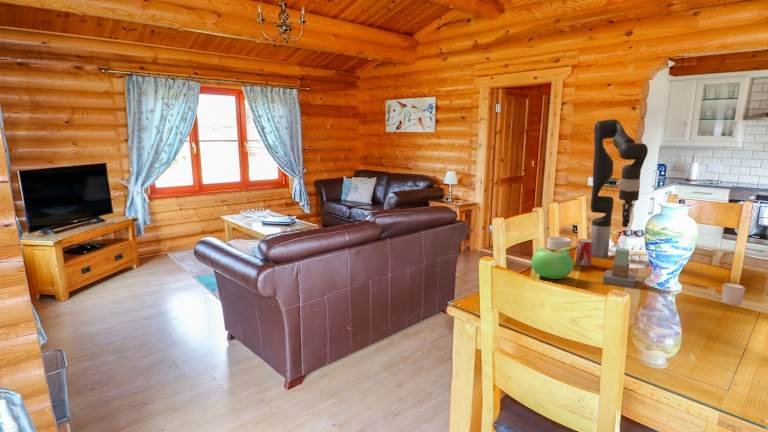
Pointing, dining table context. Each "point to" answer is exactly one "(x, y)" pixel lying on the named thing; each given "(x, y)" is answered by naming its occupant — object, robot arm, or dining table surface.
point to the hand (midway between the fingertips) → (625, 225)
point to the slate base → (619, 279)
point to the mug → (559, 243)
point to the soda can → (584, 252)
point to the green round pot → (552, 262)
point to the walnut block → (620, 271)
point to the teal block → (621, 257)
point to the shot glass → (732, 293)
